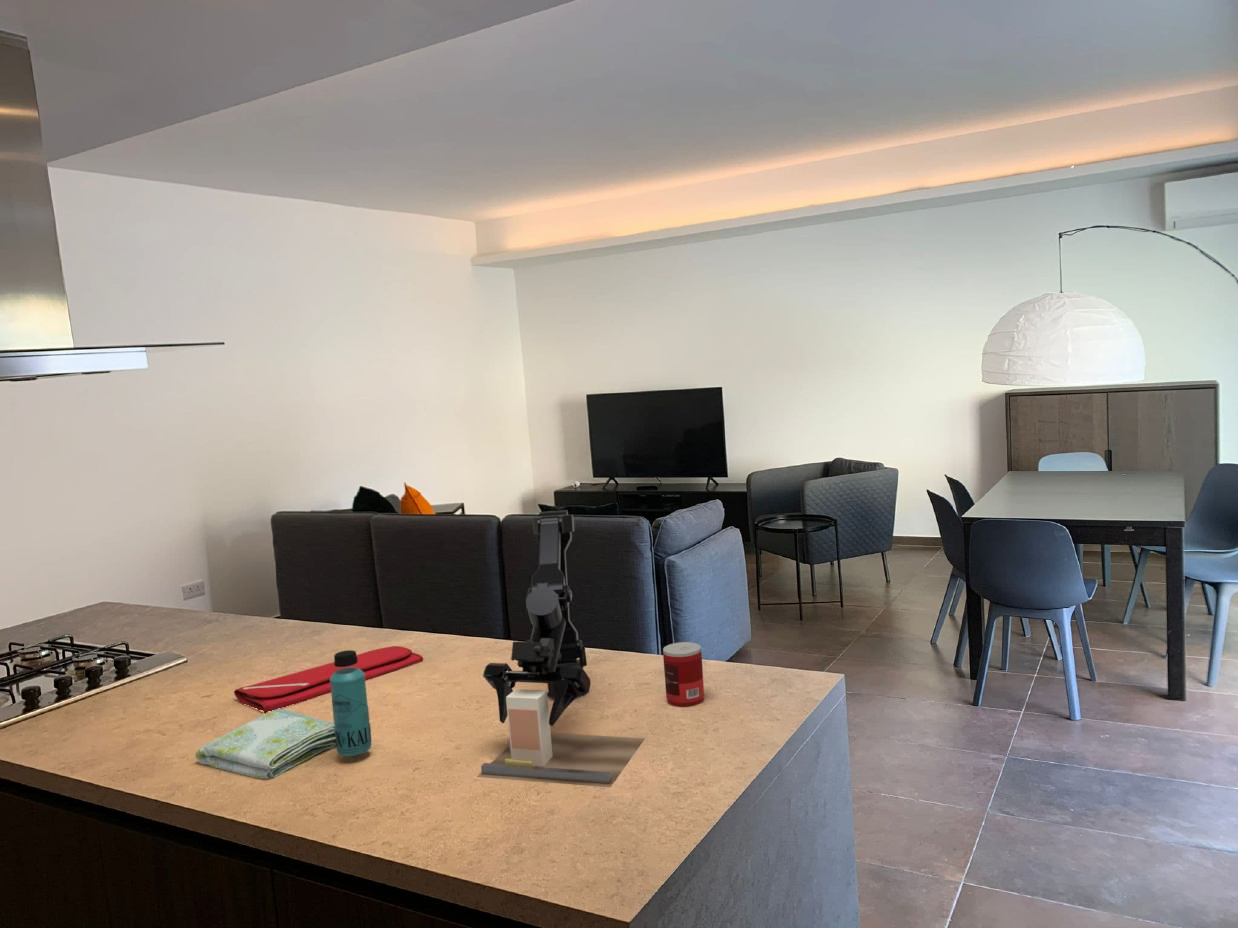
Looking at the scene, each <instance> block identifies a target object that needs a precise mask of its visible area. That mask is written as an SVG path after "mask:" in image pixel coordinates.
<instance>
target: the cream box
mask: <svg viewBox="0 0 1238 928" xmlns="http://www.w3.org/2000/svg"><path fill="white" fill-rule="evenodd" d="M547 692H548V689H547V690H543V689H524V688H523V689H519V688H516V689H514V690H513V692H512V693H510V694H509V695H508V696H507V697H506V704H507V724H508V725H507V726H508V735H509V745H510V748H511V759H518V760H532V761H533V766H545V764H546V763H547V762H548V761H549V760H550V759H551V758H552V757H553V755H552V744H551V733H552V732H551V726H550V725H549V718H550V712H549V711H550V709H549V698H548V697H549V696H547Z"/></svg>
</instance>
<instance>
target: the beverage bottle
mask: <svg viewBox="0 0 1238 928" xmlns="http://www.w3.org/2000/svg"><path fill="white" fill-rule="evenodd" d="M357 655H358V654H357V652H356V650H342V651H339V652H336V653H335V654H334V655H333V658H334V659H333V660H334V661H333V662H334V665H335V666H336V667H347V666H351V665H354V664H356V663H357V662H358V659H357ZM330 683H331V706H332V708H331V709H332V717H333V719H332V721H333V722H334V723H333V724H334V726H335V733H334V735H335V736H336V739H335V743H336V745H335V748H336V751H337V754H338V755H339V756H342V757H352V756H358V755H362V754H364V753H366V752H368V751H369V750H370V749H371V747H372V741H373V740H372V739H373V737H372V733H371V732H372V729H371V722H370V711H369V710H370V708H369V707H370V706H369V705H368V697H367V696H368V695H367V685H366V681H365V673H364V672H363V671H362V670H360V669H358V668H356V667H347V668H342V669H339V670H337V671H335V672H334V674H333V675H332V676H331V677H330Z"/></svg>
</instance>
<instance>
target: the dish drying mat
mask: <svg viewBox="0 0 1238 928" xmlns="http://www.w3.org/2000/svg"><path fill="white" fill-rule="evenodd" d="M356 655H357V659H358V662H357V663H356V664H354V665H351V666H347V667H356V668H358V669H360V670H362V671H363V672H364V673H365V682H367V681H369V679H370V680H373V679H375V678H378V677H381V676H384V675H386V674H389V673H393V672H397V671H399V670H401V669H404V668H407V667H410V666H412V665H416V664H418V663H421V662H424V657H423V655H420V654H419V653H416V652H413V650H412V649H410V648H408V647H405V646H401V645H400V646H398V645H392V646H386V647H381V648H377V649H372V650H369V651H366V652H362V653H359V654H356ZM347 667H336V666H335V665H334V661H333V662H328V663H325V664H322V665H317V666H315V667H310V668H307V669H303V670H300V671H297V672H294V673H289V674H287V675H282V676H278V677H276V678H271V679H268V680H265V681H261V682H258V683H253V684H250V685H246V686H241V687H240V688H235V690H233V693H234V696H235V698H236V699H237V700H238V701H239V702H240V703H241V704H242V703H243V704H242V705H244V704H246V705H249V706H251V707H254V708H257V709H258V710H263V711H264V713H265V714H267V713H266V712H268V711H272V710H276V709H278V708H281V709H283V708H282V707H285V708H287V707H286V706H288V707H290V706H289V705H291V706H293V705H292V704H294V705H297V704H300V703H303V702H305V701H306V702H307V701H308V699H309V700H311V699H315V698H318V696H319V697H321V695H322V696H325V695H327V694H330V693H331V683H330V677H331V676H332V675H333V674H334V672H335V671H337V670H339V669H342V668H347ZM324 694H325V695H324ZM331 694H332V693H331ZM302 701H303V702H302ZM299 702H300V703H299ZM296 703H297V704H296ZM246 705H245V706H246ZM251 707H250V708H251ZM258 710H257V711H258Z"/></svg>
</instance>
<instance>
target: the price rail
mask: <svg viewBox="0 0 1238 928" xmlns="http://www.w3.org/2000/svg"><path fill="white" fill-rule="evenodd" d="M481 772H482V775H495V776H508V777H521V778H534V779H547V780H560V781H573V782H586V783H599V784H610V783H611V781H612V778H611V772H602V771H588V770H574V769H561V768H547V767H533V761H532V760H518V759H505V764H491V762H490V763H489V762H484V763H482V764H481V766H480V773H481Z"/></svg>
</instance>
